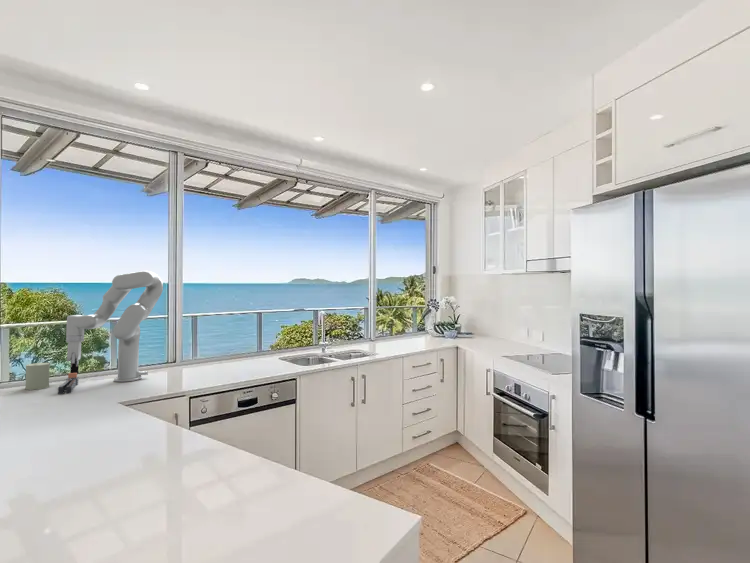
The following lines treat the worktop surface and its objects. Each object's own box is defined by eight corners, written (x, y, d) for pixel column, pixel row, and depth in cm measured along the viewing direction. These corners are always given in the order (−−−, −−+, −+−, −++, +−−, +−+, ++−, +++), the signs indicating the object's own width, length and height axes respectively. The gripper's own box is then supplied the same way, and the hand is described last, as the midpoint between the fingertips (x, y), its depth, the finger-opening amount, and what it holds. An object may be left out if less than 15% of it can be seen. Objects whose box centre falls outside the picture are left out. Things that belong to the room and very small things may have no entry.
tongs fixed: (67, 384, 206) (67, 377, 206) (78, 383, 209) (78, 376, 209) (59, 394, 186) (59, 387, 186) (71, 393, 188) (71, 385, 188)
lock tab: (68, 377, 207) (69, 373, 207) (77, 376, 208) (77, 372, 208) (68, 378, 205) (68, 374, 205) (76, 377, 206) (76, 373, 206)
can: (20, 390, 194) (21, 365, 194) (31, 386, 203) (32, 362, 203) (43, 389, 196) (44, 364, 197) (53, 385, 205) (53, 361, 205)
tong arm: (66, 385, 202) (67, 379, 202) (71, 385, 203) (71, 379, 203) (57, 393, 186) (58, 387, 186) (62, 393, 187) (62, 386, 187)
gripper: (68, 337, 217) (67, 372, 216) (63, 340, 204) (62, 377, 203) (85, 337, 221) (85, 370, 220) (82, 339, 208) (81, 375, 207)
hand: (74, 373), depth 212 cm, fingers closed
